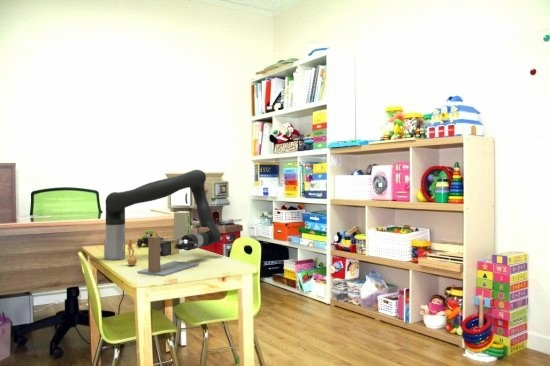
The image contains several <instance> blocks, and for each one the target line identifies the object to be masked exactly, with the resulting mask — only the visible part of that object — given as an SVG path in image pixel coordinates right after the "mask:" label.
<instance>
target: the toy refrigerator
mask: <svg viewBox="0 0 550 366" xmlns="http://www.w3.org/2000/svg"><path fill="white" fill-rule="evenodd" d="M190 222H191V212H190V211H187V210H186V211H184V210H183V211H182V210H181V211H180V210H178V211H174V212H173V239H181V238H182V237H183V236H184V235H188V234H191V230H190V229H191V223H190Z"/></svg>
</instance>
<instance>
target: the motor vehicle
mask: <svg viewBox="0 0 550 366" xmlns="http://www.w3.org/2000/svg"><path fill="white" fill-rule="evenodd" d="M151 236H158V237H160V235H158V234H157V232H156V231H155V230H146V231H145V233H144V234H143V236H142V237H141V238H138V239H137V242H136V244H137V245H138V247H139V248H142V247H143V244H144V245H147V244H148V237H151ZM163 239H165V238H164V237H160V240H163ZM138 247H137V248H138Z"/></svg>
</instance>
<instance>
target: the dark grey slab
mask: <svg viewBox="0 0 550 366" xmlns="http://www.w3.org/2000/svg"><path fill="white" fill-rule="evenodd" d="M160 245H162V252H160V257H167V256H171V255H170V242H164V241H160Z"/></svg>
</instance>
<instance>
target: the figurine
mask: <svg viewBox="0 0 550 366" xmlns="http://www.w3.org/2000/svg"><path fill="white" fill-rule="evenodd" d="M133 244H134V245H136V247H137V248H138V249H140V247H138V245H137V242H134V241H133V240H132V239H129V240H128V241H125V244H124V245H125V246H126V245H127V246H128V247H127V250H128V251H127V252H128V256H129V258H128V260H127V264H128V265H129V266H132V267H133V266H135V265H136V264H137V263H138V262H137V261H138V259H137V258H136V257H135V256H134V253H135V249H134V246H133ZM124 245H123V248H124ZM123 250H124V249H122V251H123Z"/></svg>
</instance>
